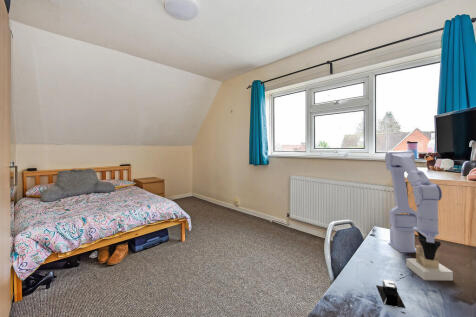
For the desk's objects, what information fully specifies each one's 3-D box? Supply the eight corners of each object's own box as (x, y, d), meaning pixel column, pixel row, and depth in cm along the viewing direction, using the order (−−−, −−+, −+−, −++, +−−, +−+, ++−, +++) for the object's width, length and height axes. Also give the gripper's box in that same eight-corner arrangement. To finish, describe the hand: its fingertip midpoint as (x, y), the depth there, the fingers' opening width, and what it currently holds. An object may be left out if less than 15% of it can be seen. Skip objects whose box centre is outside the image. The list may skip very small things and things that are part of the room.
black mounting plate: (411, 315, 60) (411, 299, 60) (380, 309, 62) (380, 294, 62) (397, 287, 71) (396, 274, 71) (371, 283, 74) (371, 270, 74)
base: (406, 266, 82) (406, 258, 82) (431, 266, 82) (431, 258, 82) (424, 280, 74) (424, 271, 73) (452, 280, 73) (452, 271, 73)
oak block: (416, 261, 80) (415, 245, 80) (430, 261, 79) (429, 245, 79) (424, 267, 76) (423, 251, 76) (438, 268, 75) (438, 251, 75)
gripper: (411, 210, 85) (411, 244, 86) (414, 222, 73) (415, 260, 74) (435, 213, 81) (435, 248, 81) (442, 225, 69) (443, 266, 70)
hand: (427, 254), depth 77 cm, fingers open, 7 cm apart
